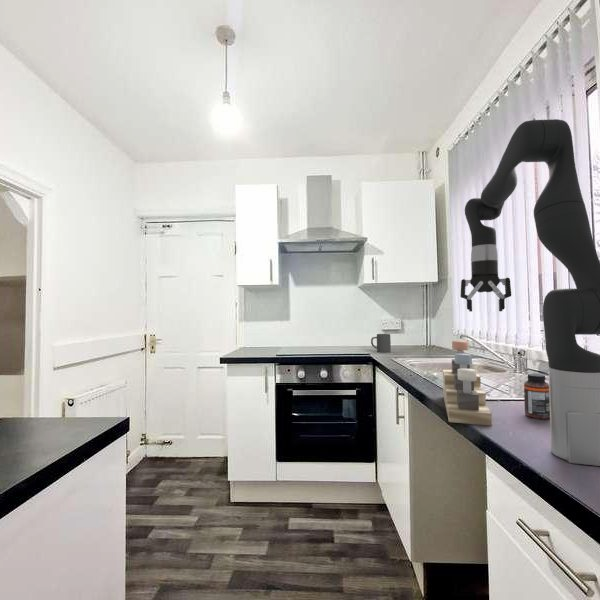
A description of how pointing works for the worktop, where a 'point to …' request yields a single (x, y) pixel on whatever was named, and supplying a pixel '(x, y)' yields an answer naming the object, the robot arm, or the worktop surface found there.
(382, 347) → the mug
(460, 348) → the pink block
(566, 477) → the worktop surface
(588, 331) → the robot arm
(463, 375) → the white mushroom-shaped block
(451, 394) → the wooden block staircase
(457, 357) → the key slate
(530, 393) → the supplement bottle
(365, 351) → the worktop surface
